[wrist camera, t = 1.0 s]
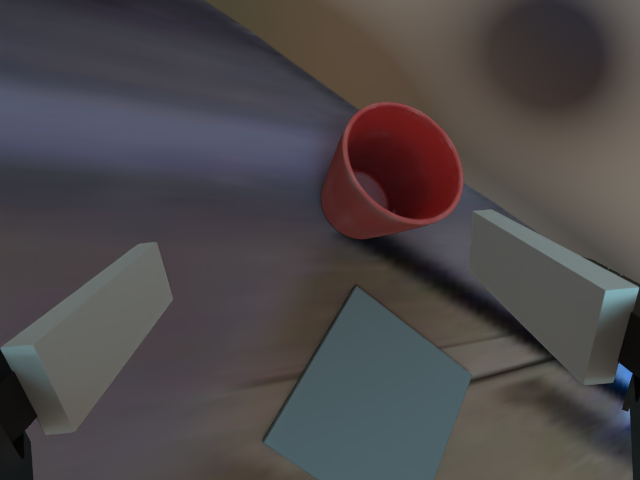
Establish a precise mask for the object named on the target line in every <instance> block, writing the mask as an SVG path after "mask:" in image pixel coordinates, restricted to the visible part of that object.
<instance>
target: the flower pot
mask: <svg viewBox="0 0 640 480" xmlns="http://www.w3.org/2000/svg"><path fill="white" fill-rule="evenodd" d="M462 189H463V170H462V165H461V161H460V159H459V155H458V153H457V151H456V149H455V147H454V145H453V143H452V142H451V140H450V138H449V137H448V136H447V134H446V133H445V132H444V131H443V129H442V128H441V127H440V126H439V125H438V124H437V123H436V122H435V121H433V120H432V119H431V118H430V117H428V116H427V115H425V114H424V113H422V112H420V111H419V110H417V109H415V108H412V107H410V106H407V105H405V104H401V103H394V102H379V103H374V104H371V105H368V106H366V107H364V108H362V109H361V110H359V111H358V112H357V113H355V114H354V115H353V116H352V117H351V119H350V120H349V121H348V123H347V125H346V126H345V129H344V131H343V133H342V136H341V138H340V141H339V144H338V146H337V149H336V152H335V154H334V157H333V159H332V162H331V165H330V168H329V171H328V174H327V177H326V180H325V182H324V186H323V189H322V193H321V203H322V209H323V211H324V214H325V216H326V218H327V219H328V221H329V222H330V224H331V225H333V227H334V228H335V229H336V230H337V231H339V232H340V233H342V234H343V235H345V236H348V237H350V238H354V239H368V238H373V237H379V236H384V235H389V234H394V233H398V232H402V231H406V230H410V229H414V228H418V227H422V226H426V225H429V224H432V223H435V222H438V221H440V220H442V219H444V218H445V217H446V216H448V215H449V214H450V213H451V212H452V211H453V210H454V209H455V207H456V206H457V204H458V202H459V200H460V197H461V194H462Z"/></svg>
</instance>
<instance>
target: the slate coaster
mask: <svg viewBox="0 0 640 480" xmlns="http://www.w3.org/2000/svg"><path fill="white" fill-rule="evenodd" d="M471 377H472V374H471V373H469V372H468V371H467V370H465V369H464V368H463V367H462V366H460V365H459V364H458V363H456V362H455V361H454V360H452V359H451V358H450V357H449V356H447V355H446V354H445V353H443V352H442V351H441V350H439V349H438V348H437V347H435V346H434V345H433V344H432V343H430V342H429V341H428V340H426V339H425V338H424V337H422V336H421V335H420V334H419V333H417V332H416V331H415V330H413V329H412V328H411V327H409V326H408V325H407V324H405V323H404V322H403V321H402V320H400V319H399V318H398V317H396V316H395V315H394V314H392V313H391V312H390V311H389V310H387V309H386V308H385V307H383V306H382V305H381V304H379V303H378V302H377V301H376V300H374V299H373V298H372V297H370V296H369V295H368V294H366V293H365V292H364V291H362V290H361V289H360V288H359V287H357V286H355V287H354V288H353V289H352V291H351V293H350V294H349V296H348V298H347V300H346V301H345V303H344V305H343V306H342V308H341V310H340V311H339V313H338V315H337V316H336V318H335V320H334V321H333V323H332V325H331V326H330V328H329V330H328V331H327V333H326V335H325V336H324V338H323V340H322V342H321V343H320V345H319V347H318V348H317V350H316V352H315V353H314V355H313V357H312V358H311V360H310V362H309V363H308V365H307V367H306V368H305V370H304V372H303V373H302V375H301V377H300V378H299V380H298V382H297V384H296V385H295V387H294V389H293V390H292V392H291V394H290V395H289V397H288V399H287V400H286V402H285V404H284V405H283V407H282V409H281V410H280V412H279V414H278V415H277V417H276V419H275V420H274V422H273V424H272V426H271V427H270V429H269V431H268V432H267V434H266V436H265V437H264V439H263V443H264V444H266V445H267V446H269V447H270V448H272V449H273V450H275V451H276V452H278V453H279V454H281V455H282V456H284V457H285V458H287V459H288V460H290V461H291V462H293V463H294V464H296V465H297V466H299V467H300V468H302V469H303V470H305V471H306V472H308V473H309V474H311V475H312V476H314V477H315V478H317V479H318V480H434V477H435V474H436V471H437V469H438V466H439V463H440V461H441V458H442V455H443V453H444V450H445V447H446V444H447V442H448V439H449V436H450V434H451V431H452V428H453V425H454V423H455V420H456V417H457V415H458V412H459V409H460V406H461V404H462V401H463V398H464V396H465V393H466V390H467V387H468V385H469V382H470V379H471Z"/></svg>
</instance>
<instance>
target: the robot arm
mask: <svg viewBox="0 0 640 480" xmlns="http://www.w3.org/2000/svg"><path fill="white" fill-rule="evenodd" d="M469 272H470V273H471V274H472V275H473V276H474V277H475V278H476V279H477V280H478V281H479V282H480V283H481V284H482V285H483V286H484V287H485V288H486V289H487V290H488V291H489V292H490V293H491V294H492V295H493V296H494V297H495V298H496V299H497V300H498V301H499V302H500V303H501V304H502V305H503V306H504V307H505V308H506V309H507V310H508V311H509V312H510V313H511V314H512V315H513V316H514V317H515V318H516V319H517V320H518V321H519V322H520V323H521V324H522V325H523V326H524V327H525V328H526V329H527V330H528V331H529V332H530V333H531V334H532V335H533V336H534V337H535V338H536V339H537V340H538V341H539V342H540V343H541V344H542V345H543V346H544V347H545V348H546V349H547V350H548V351H549V352H550V353H551V354H552V355H553V356H554V357H555V358H556V359H557V360H558V361H559V362H560V363H561V364H562V365H563V366H564V367H565V368H566V369H567V370H568V371H569V372H570V373H571V374H572V375H573V376H574V377H575V378H576V379H577V380H578V381H579V382H580V383H581V384H582V385H592V384H603V383H613V382H614V378H615V375H616V371H617V367H618V364H619V363H620V364H622V365H623V366H624V367H625V368H627V369H628V370H629V371H630V372H632V373H633V374H632V377H631V381H630V384H629V387H628V391H627V394H626V398H625V401H624V404H623V408H622V410H625V411H628V410H629V408H630V420H631V442H632V464H633V480H640V284H639V283H637V282H635V281H633V280H631V279H629V278H627V277H625V276H620V274H619V273H617V272H615V271H613V270H611V269H608V268H607V267H606V266H604V265H602V264H600V263H598V262H596V261H594V260H591V259H588V258H585V257H581V256H579V255H577V254H575V253H573V252H572V251H570V250H568V249H566V248H564V247H562V246H560V245H558V244H556V243H554V242H552V241H551V240H549V239H547V238H545V237H543V236H541V235H539V234H537V233H535V232H533V231H532V230H530V229H528V228H526V227H524V226H522V225H520V224H518V223H516V222H514V221H513V220H511V219H509V218H507V217H505V216H503V215H501V214H499V213H497V212H495V211H494V210H492V209H490V210H480V211H473V217H472V231H471V245H470V259H469ZM172 301H173V297H172V293H171V290H170V286H169V283H168V279H167V276H166V272H165V269H164V265H163V262H162V258H161V255H160V251H159V248H158V244H157V242H150V243H140V244H137V245H136V246H135V247H133V248H132V249H131V250H129V251H128V252H127V253H125V254H124V255H123V256H121V257H120V258H119V259H117V260H116V261H115V262H114V263H112V264H111V265H110V266H108V267H107V268H106V269H104V270H103V271H102V272H100V273H99V274H98V275H96V276H95V277H94V278H92V279H91V280H90V281H88V282H87V283H86V284H84V285H83V286H82V287H80V288H79V289H78V290H76V291H75V292H74V293H72V294H71V295H70V296H68V297H67V298H66V299H64V300H63V301H62V302H60V303H59V304H58V305H56V306H55V307H54V308H52V309H51V310H50V311H48V312H47V313H46V314H44V315H43V316H42V317H40V318H39V319H38V320H36V321H35V322H34V323H32V324H31V325H30V326H28V327H27V328H26V329H24V330H23V331H22V332H20V333H19V334H18V335H16V336H15V337H14V338H12V339H11V340H10V341H8V342H7V343H6V344H5V345H3V346H2V347H1V348H0V480H33V468H32V454H31V441H30V439H29V438H28V436H27V434H26V432H25V430H26V429H27V428H28V426H29V425H30V424H31V423H32V422H33V421H34V420H35V419H36V418H37V420H38V421H39V423H40V425H41V427H42V429H43V431H44V433H45V435H52V434H63V433H73V432H76V430H77V429H78V428H79V426H80V425H81V423H82V422H83V421H84V419H85V418H86V417H87V415H88V414H89V413H90V411H91V410H92V409H93V407H94V406H95V405H96V403H97V402H98V401H99V399H100V398H101V396H102V395H103V394H104V392H105V391H106V390H107V388H108V387H109V386H110V384H111V383H112V382H113V380H114V379H115V378H116V376H117V375H118V374H119V372H120V371H121V369H122V368H123V367H124V365H125V364H126V363H127V361H128V360H129V359H130V357H131V356H132V355H133V353H134V352H135V351H136V349H137V348H138V347H139V345H140V344H141V342H142V341H143V340H144V338H145V337H146V336H147V334H148V333H149V332H150V330H151V329H152V328H153V326H154V325H155V324H156V322H157V321H158V320H159V318H160V317H161V315H162V314H163V313H164V311H165V310H166V309H167V307H168V306H169V305H170V303H171V302H172Z"/></svg>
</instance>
